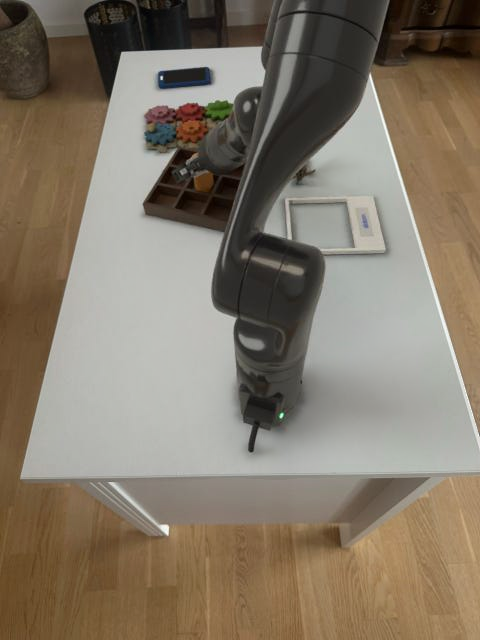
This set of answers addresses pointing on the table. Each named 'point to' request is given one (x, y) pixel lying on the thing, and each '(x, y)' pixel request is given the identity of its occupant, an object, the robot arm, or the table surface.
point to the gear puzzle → (183, 124)
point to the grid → (192, 196)
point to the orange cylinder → (204, 181)
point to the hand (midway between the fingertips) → (197, 168)
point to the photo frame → (361, 223)
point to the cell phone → (184, 77)
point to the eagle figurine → (303, 173)
